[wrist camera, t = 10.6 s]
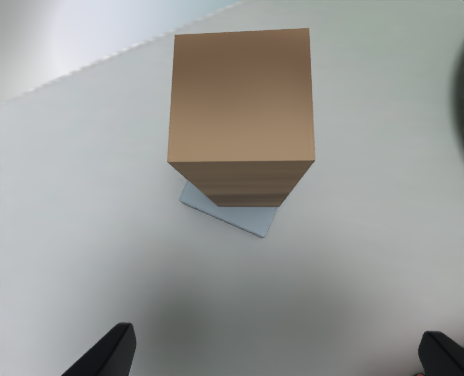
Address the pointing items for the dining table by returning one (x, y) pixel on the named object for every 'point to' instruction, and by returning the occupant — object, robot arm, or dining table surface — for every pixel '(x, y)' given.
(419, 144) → the dining table surface
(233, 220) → the slab
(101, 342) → the robot arm
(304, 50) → the pillar
